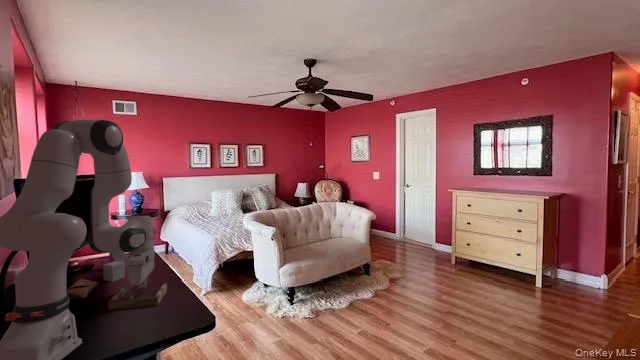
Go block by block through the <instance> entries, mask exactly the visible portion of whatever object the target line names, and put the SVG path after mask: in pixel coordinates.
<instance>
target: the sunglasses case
mask: <svg viewBox="0 0 640 360" xmlns="http://www.w3.org/2000/svg"><path fill="white" fill-rule="evenodd" d="M99 284H100V282H99V281H93V280H90V279H85V278H83V277H79V279H78V280H76V281H75V282H74V283H72V285H70V286H69V287H68V288H67V294H68V295H69V300H74V299H75V300H76V299H83V298H87V297H88V295H89V294H90V293H91V291H92V290H94V289H95V288H96V287H97V286H98V285H99Z"/></svg>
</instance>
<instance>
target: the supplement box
mask: <svg viewBox="0 0 640 360" xmlns="http://www.w3.org/2000/svg"><path fill="white" fill-rule="evenodd" d="M108 253H109V255H108V256H109V257H108V258H109V263H111V262H114V261H117V262H124V269H125V268H126V267H125V264H126V261H125V253H114V252H108Z"/></svg>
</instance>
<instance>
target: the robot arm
mask: <svg viewBox="0 0 640 360" xmlns="http://www.w3.org/2000/svg"><path fill="white" fill-rule="evenodd" d="M83 154H86V155H90V156H91V158H93V171H94V185H93V187H92V188H91V191H90V194H89V195H90V196H89V219H90V220H89V223H90V224H89V232H88V238H87V242H88V246H89V248H90V249H91V250H92V252H95V253H99V254H100V253H109V252H114V253H124V254H128V257H127V259H126V261H125V264H126V266H128V267H127V273H128V275H127V276H128V281H129V285H130V286H132V287H134V286H141V285H142V284H143V285H145V286H146V287H147V286H148V279H149V277H148V276H149V275H150V274H151V273H152V271H153V270H154V269H155V259H154V258H155V243H154V235H155V233H154V223H153V219H152V217H151V216H150V215H147V214H131V215H129V218H128V220H127V221H126V222H125V223H124V224H122V225H121V226H114V225H111V223H110V203H111V201H112V199H114V198H116V197H118V196H120V195H122V194H124V193H125V192H126V191H128V189H129V188H130V186H131V185H132V179H133V178H132V170H131V164H130V158H129V156H128V152H127V149H126V146H125V144H124V135H123V131H122V130H121V128H120V127H119V125H118V124H117V123H115V122H114V121H112V120H111V121H110V120H105V119H98V120H97V119H85V118H84V119H75V120H65V121H61V122H58V123H57V124H55V125H54V126H53V127H52V128H51V129H48V130H46V131H44V132H43V133H42V135H41V136H40V137H39V139H38V141H37V144H36V145H35V148H34V150H33V153H32V156H31V160H30V163H29V168H28V170H27V175H26V179H25V181H24V185H23V187H22V190H21V192H20V193H19V195H18V197H17V198H16V200H15V202H14V203H13V204H12V205H11V207H10V208H9V209H8V211H6V212H5V213H4V214H3V215H1V216H0V248H3V249H7V250H9V251H15V252H28V253H29V256H28V257H29V258H28V260H27V263H26V266H25V268H23V269H21V270H20V271H19V272H18V273H17V274H16V276H15V278H14V286H15V291H14V292H15V304H14V307H13V310H12V312H7V313H6V314H5V316H4V321H5V322H10V321H11V323H10V325H9V327H8V329H6V331H5V332H4V334H3V336H2V338H1V339H0V360H62V359H64V358H65V357H67V356H68V355H69V354H70V353H71V352H73V351H74V350H75V349H76V348H78V347H79V346H81V344H83V339H82V338H80V337H78V331H77V324H76V318H75V315H74V314H73V313H72V312H71V311H70V309H69V307H70V299H69V295H68V294H67V289H68V288H67V287H68V286H67V273H68V272H67V270H68V265H69V261H70V259H71V256H72V255H73V253H75V251H76V250H77V249H78V248H80V246H81V245H82V244H83V243H84V242H85V240H86V237H87V229H88V228H87V225H86V223H85V221H84V220H83V219H82V218H81V217H78V216H76V215H72V214H68V213H63V212H56V210H57V209H58V207H60V205H61V204H62V202H64V201H66V200H67V199H69V198H70V197H71V195H73V193H74V189H75V185H76V179H77V174H78V170H79V165H80V159H81V155H83Z"/></svg>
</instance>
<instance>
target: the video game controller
mask: <svg viewBox="0 0 640 360" xmlns="http://www.w3.org/2000/svg"><path fill="white" fill-rule="evenodd" d="M148 290H149V287H147V286H145V285H143V284H142V285H141V286H140V285H133V286H132V287H131V288H130V289H127V291H126V292H125V293H124V294H123V295H122V296H121V297H120V298H119V299H118V300H120V299H132V298H142V296H144V294H146V292H148Z"/></svg>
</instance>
